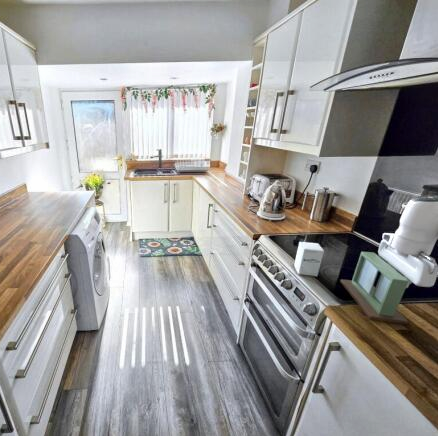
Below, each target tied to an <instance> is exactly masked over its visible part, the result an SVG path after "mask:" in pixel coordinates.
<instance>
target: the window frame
mask: <svg viewBox="0 0 438 436" xmlns="http://www.w3.org/2000/svg"><path fill="white" fill-rule="evenodd" d="M379 272H380V274H381V273H382V274H383V275H384V276H385V277H386V278H388V279H389V280H390V283H389V285H388V288H387V290H386V293H385V295H384V298H383V300H382V303H381V302H380V301H379V300H378V299H377V298H376V297H375V296H374V295H373V294H374V291H375V288H376V286H375V285H374V284H375V281H376V279H377V277H378V273H379ZM339 282H340V284H341V285H342V286H343V287H344V288H345V290H346V291H347V292H348V294H349V295H350V296H351V297H352V298H353V300H354V301H355V302H356V304H357V305H358V307H360V309H361V310H362V311H363V313H364V314H365V315H366V316H367V318H368V319H369V320H374V321H381V322H387V323H396V324H402V325H408V323H409V320H407V318H405V316H404V315H403V314H402V313H401V312H399V310H398V307H399V305H400V303H401V300H402V298H403V295H404V293H405V291H406V289H407V288H406V286H407V284H408V280H407V279H406V278H405V277H404V275H403V274H402V273H400V272H399V271H398V270H397V269H396V270H395V269H394V268H392V267H391V266H390V265H389V264H388V262H387V261H385V260H384V259H383V258H382V257H380V256H379V254H377V253H375V252H370V251H361V252H360V254H359V258H358V261H357V264H356V267H355V270H354V273H353V275H352V280H350V279H342V278H341V279H340V280H339Z"/></svg>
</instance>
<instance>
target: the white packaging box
mask: <svg viewBox="0 0 438 436" xmlns="http://www.w3.org/2000/svg"><path fill="white" fill-rule="evenodd" d="M324 252H325V250H324V249H323V247H322V246H321V245H320V244H319V243H317V242H307V241H305V242H304V241H299V242H298V247H297V251H296V255H295V260H294V264H293V265H294V269H295V270H296V272H297V275H303V276H304V275H306V276H310V277H311V276H313V277H318V275H319V272H320V268H321V264H322V259H323V257H324Z"/></svg>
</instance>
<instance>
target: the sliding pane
mask: <svg viewBox="0 0 438 436" xmlns="http://www.w3.org/2000/svg"><path fill="white" fill-rule="evenodd" d="M379 275H380V276H379V278H378V280H377V283H376V286H375V291H374V294H373V295H374V296H375V297H376V298H377V299H378V300H379V301H380V302H381V303H382V300H383V298H384V295H385V293H386V290H387V288H388V285H389V283H390V280H389V279H388V278H386V277H385V276H384V275H383V274H382V273H381V272H380V274H379Z"/></svg>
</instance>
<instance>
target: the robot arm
mask: <svg viewBox="0 0 438 436" xmlns="http://www.w3.org/2000/svg"><path fill="white" fill-rule="evenodd" d="M381 238H382V240H381V241H380V242H379V247H378V250H377V253H378V254H377V255H378V256H379V257H380V258H381V259H382V260H384V261H385V262H386V263H387V264H389V265H390V266H391V267H392V268H394V269H395V270H396V271H397V272H398V273H400V274H401V275H402V276H403V277H405V278H406V279H407V280H408V284H407V286H406V289H408V288H409V286H410V285H411V284H412V283H413V284H414V285H415V286H417V287H422V288H423V287H424V288H431V287H433V286H434V285H435V283H436V280H437V277H438V264H437V262H436V259H435V258H434V257H432V256H430V255H431V253H432V252H433V249H434V246H435V244H436V242H437V240H438V195H436V194H424V195H418V196H415V197H413V198H411V199H410V200H409V201H408V202H407V204H406V205H405V208H403V211H402V214H401V216H400V218H399V226H398V228H397V229H396V230H395V232H394V233H393V232H384V233H382V237H381Z"/></svg>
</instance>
